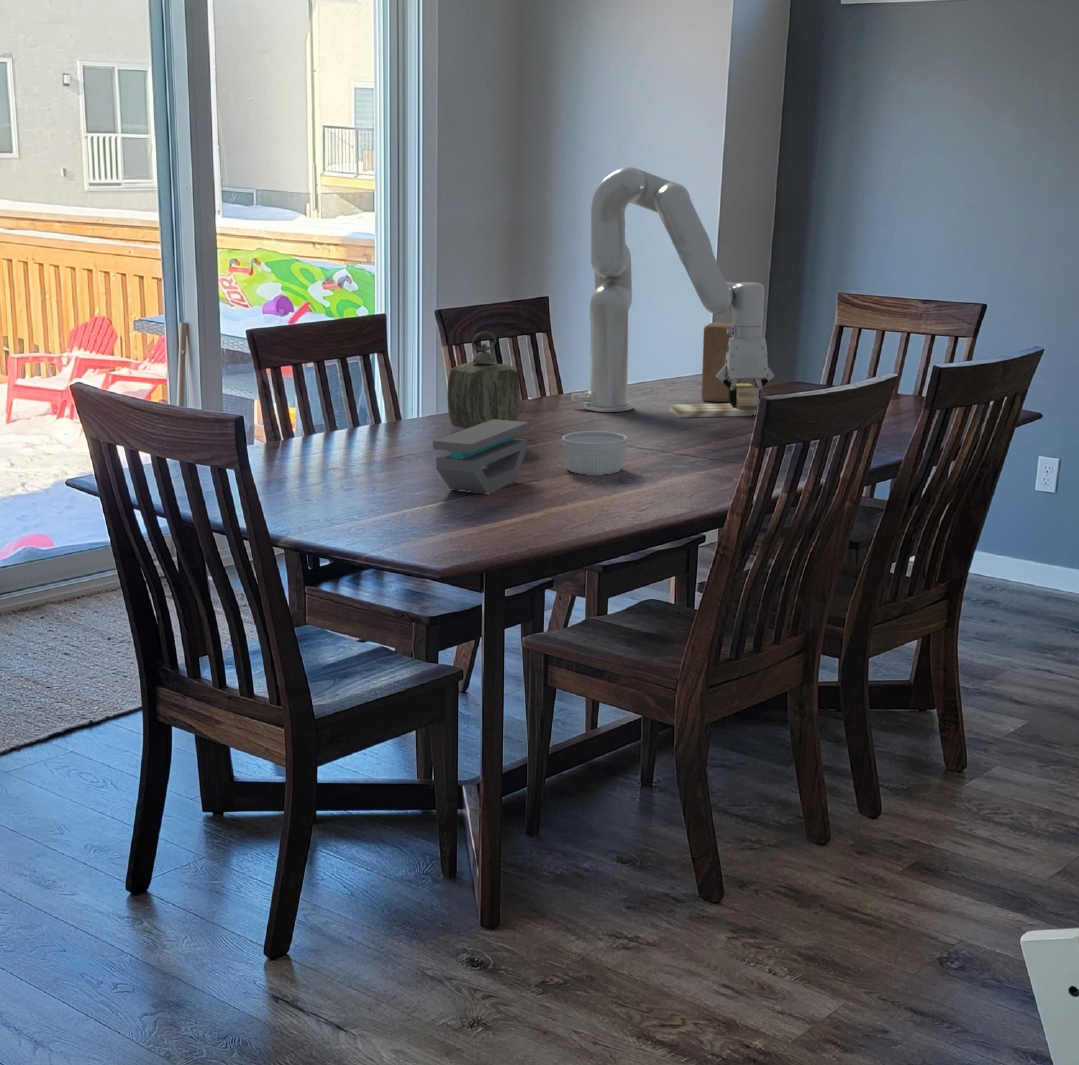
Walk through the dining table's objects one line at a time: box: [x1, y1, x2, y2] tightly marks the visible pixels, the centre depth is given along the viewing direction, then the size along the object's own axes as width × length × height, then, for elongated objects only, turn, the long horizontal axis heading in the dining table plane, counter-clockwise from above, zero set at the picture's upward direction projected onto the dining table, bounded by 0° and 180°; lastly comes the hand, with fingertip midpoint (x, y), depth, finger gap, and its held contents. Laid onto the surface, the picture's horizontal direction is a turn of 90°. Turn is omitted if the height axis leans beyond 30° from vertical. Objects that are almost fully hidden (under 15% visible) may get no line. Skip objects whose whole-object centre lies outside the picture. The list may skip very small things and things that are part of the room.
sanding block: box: [735, 383, 759, 409], centre depth 344 cm, size 9×5×5 cm, turn 6°
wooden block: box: [701, 321, 745, 403], centre depth 361 cm, size 10×10×20 cm
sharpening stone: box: [432, 419, 530, 494], centre depth 262 cm, size 25×8×11 cm, turn 155°
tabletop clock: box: [447, 330, 521, 430], centre depth 301 cm, size 14×9×25 cm, turn 134°
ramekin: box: [561, 430, 628, 476], centre depth 278 cm, size 13×13×7 cm
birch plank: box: [669, 402, 757, 418], centre depth 344 cm, size 24×10×2 cm, turn 98°
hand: (744, 404), depth 344 cm, fingers closed on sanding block, 5 cm apart
